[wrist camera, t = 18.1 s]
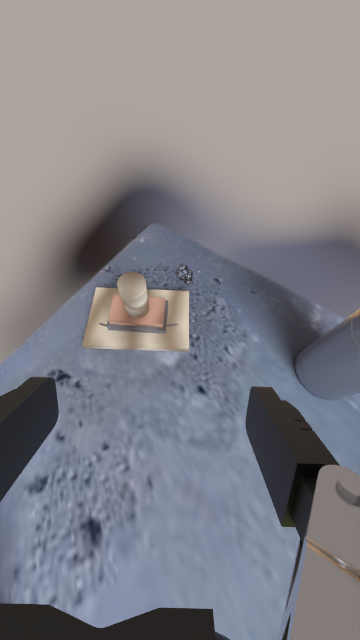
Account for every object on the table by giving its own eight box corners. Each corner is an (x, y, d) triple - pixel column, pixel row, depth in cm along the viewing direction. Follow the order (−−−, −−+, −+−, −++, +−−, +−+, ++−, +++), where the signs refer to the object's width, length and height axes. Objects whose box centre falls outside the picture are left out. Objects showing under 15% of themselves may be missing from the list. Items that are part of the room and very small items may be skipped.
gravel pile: (194, 260, 52) (194, 253, 50) (210, 284, 48) (211, 278, 46) (166, 268, 51) (165, 262, 49) (180, 294, 47) (180, 288, 45)
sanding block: (168, 304, 43) (167, 268, 34) (165, 333, 40) (164, 302, 31) (115, 301, 43) (100, 264, 34) (108, 330, 40) (91, 297, 31)
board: (188, 295, 46) (188, 290, 45) (188, 351, 40) (188, 348, 39) (98, 292, 46) (96, 287, 44) (85, 348, 40) (82, 344, 39)
